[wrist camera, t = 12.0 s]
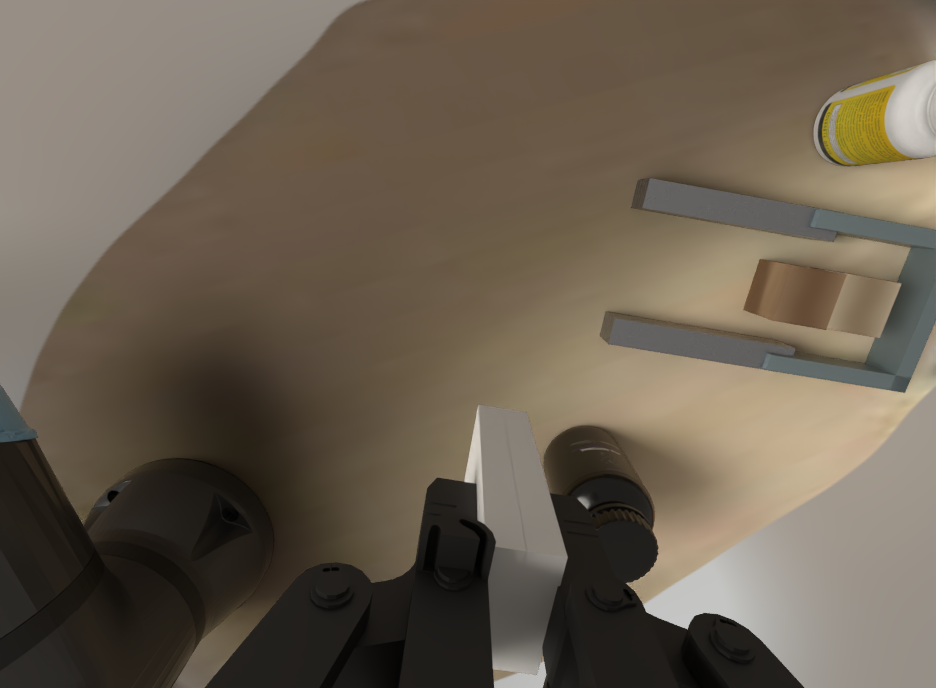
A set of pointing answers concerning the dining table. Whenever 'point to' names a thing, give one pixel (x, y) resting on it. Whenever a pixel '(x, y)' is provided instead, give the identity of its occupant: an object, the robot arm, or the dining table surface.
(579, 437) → the supplement bottle
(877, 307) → the beige cube
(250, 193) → the dining table surface
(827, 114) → the supplement bottle
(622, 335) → the slot rails
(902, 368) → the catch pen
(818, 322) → the brown cube
